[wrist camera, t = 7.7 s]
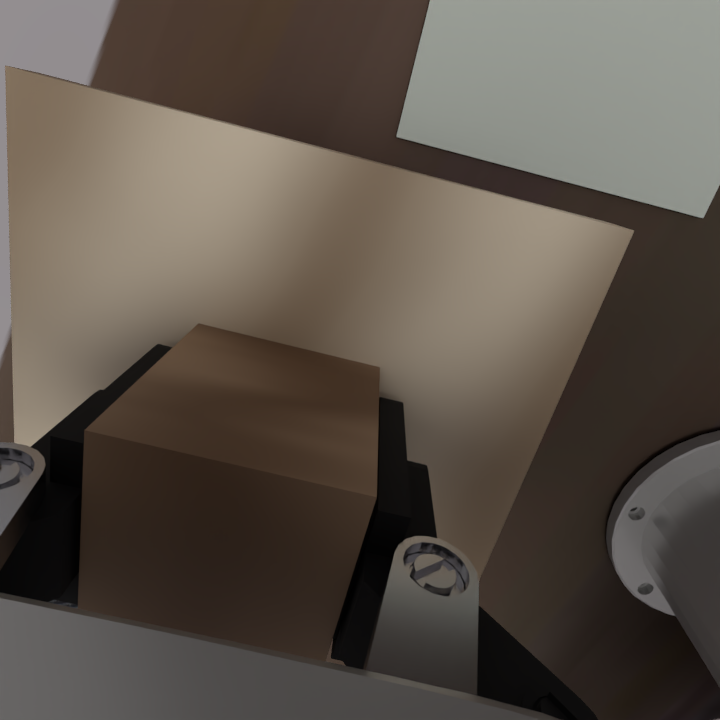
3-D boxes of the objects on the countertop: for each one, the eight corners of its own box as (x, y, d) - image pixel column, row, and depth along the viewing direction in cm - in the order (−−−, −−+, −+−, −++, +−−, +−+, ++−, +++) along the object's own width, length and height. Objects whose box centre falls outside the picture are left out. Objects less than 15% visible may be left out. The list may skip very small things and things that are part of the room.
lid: (613, 223, 11) (817, 291, 6) (442, 623, 15) (471, 859, 10) (39, 73, 10) (-306, -3, 5) (40, 535, 15) (-142, 739, 10)
